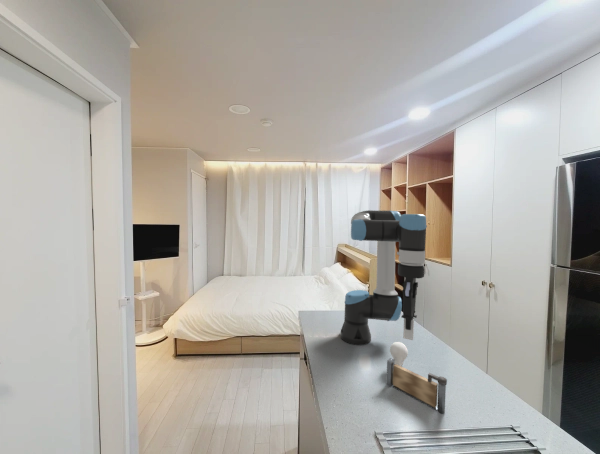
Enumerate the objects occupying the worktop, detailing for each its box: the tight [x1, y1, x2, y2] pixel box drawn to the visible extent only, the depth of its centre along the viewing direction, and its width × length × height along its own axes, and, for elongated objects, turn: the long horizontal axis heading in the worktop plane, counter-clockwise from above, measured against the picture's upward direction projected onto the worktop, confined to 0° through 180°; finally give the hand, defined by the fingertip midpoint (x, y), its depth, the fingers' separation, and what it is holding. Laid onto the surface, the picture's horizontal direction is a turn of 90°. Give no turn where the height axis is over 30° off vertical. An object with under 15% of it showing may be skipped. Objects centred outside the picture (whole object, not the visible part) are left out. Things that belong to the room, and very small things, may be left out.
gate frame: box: [385, 357, 447, 415], centre depth 84 cm, size 19×3×9 cm, turn 43°
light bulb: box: [389, 341, 409, 367], centre depth 99 cm, size 7×7×11 cm
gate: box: [392, 363, 448, 407], centre depth 83 cm, size 17×2×10 cm, turn 42°
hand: (408, 338), depth 78 cm, fingers closed
